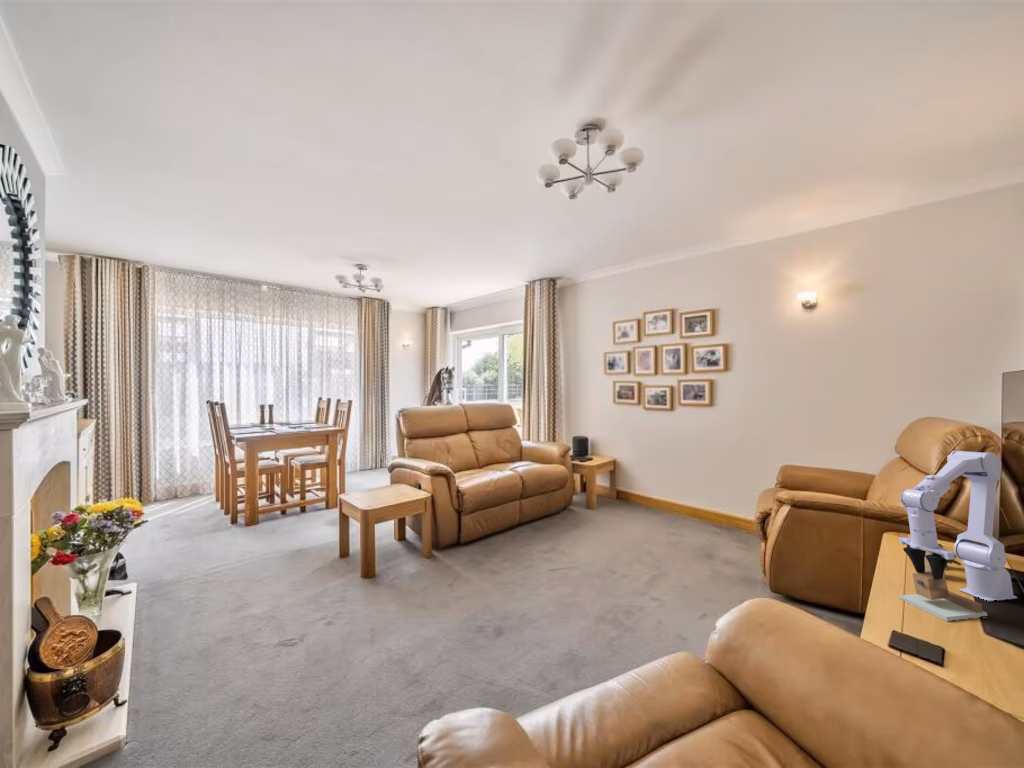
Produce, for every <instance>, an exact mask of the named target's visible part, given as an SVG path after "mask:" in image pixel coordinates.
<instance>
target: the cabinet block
mask: <svg viewBox="0 0 1024 768" xmlns="http://www.w3.org/2000/svg"><path fill="white" fill-rule="evenodd" d="M912 578H913V583H914V588H915V594H918V595H921V596H923V597H925V598H928V599H930V600H936V599H943V598H949V593H948V591H949V589H948V583H947V580H946V575H945V576H943V578H942V579H940V580H935V579H934V578H933V576H932V572H931V571H927V572H921V573H917V572H915V573H912Z"/></svg>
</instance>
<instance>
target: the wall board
mask: <svg viewBox="0 0 1024 768" xmlns="http://www.w3.org/2000/svg"><path fill="white" fill-rule="evenodd" d="M948 593H949V598H943V599H936V600H930V599H928V598H925V597H923V596H921V595H918V594H916V593H912V594H910V593H909V594H902V595H899V600H901V601H903V602H904V601H905V603H907V604H909V605H911V606H913V607H916V608H917V609H920V610H921V611H924V612H926V613H928V614H930V615H933V616H935V617H936V616H937V618H939V619H941V620H943V621H945V622H953V621H952V620H956V621H960V620H959V619H965V620H968V619H967V618H974V619H980V618H979V617H981V616H988V612H986V611H984V610H983V606H982V603H979V602H977V601H975V600H972V599H970V598H968V597H964V596H963V595H960V594H958V593H955V592H953V591H951V590H948Z"/></svg>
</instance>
